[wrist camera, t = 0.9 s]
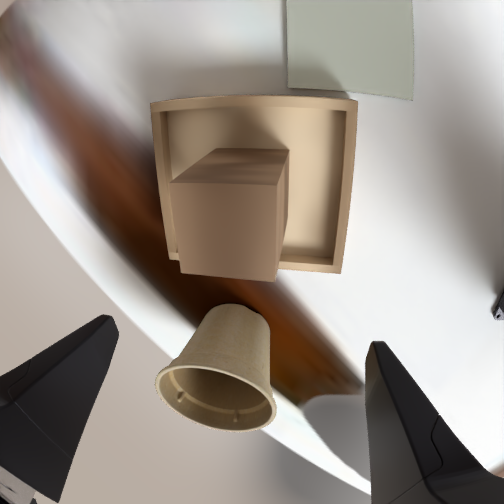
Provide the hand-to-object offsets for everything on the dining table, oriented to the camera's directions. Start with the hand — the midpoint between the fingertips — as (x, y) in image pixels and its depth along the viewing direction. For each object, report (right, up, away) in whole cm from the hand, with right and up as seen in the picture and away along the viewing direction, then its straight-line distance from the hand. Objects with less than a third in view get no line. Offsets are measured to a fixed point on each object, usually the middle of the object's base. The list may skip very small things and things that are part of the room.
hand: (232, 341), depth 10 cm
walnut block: (+1, +7, +9) cm, 12 cm away
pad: (+7, +16, +5) cm, 18 cm away
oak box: (+1, +8, +11) cm, 14 cm away
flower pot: (-1, -4, +19) cm, 19 cm away
